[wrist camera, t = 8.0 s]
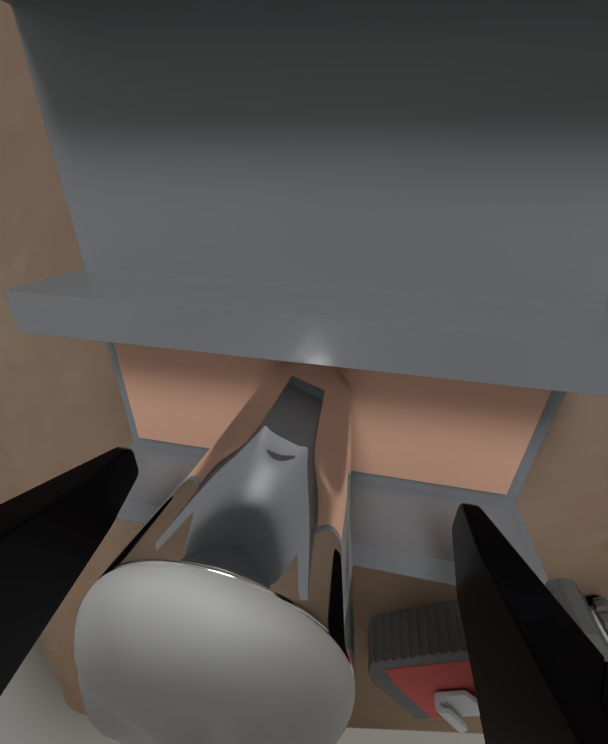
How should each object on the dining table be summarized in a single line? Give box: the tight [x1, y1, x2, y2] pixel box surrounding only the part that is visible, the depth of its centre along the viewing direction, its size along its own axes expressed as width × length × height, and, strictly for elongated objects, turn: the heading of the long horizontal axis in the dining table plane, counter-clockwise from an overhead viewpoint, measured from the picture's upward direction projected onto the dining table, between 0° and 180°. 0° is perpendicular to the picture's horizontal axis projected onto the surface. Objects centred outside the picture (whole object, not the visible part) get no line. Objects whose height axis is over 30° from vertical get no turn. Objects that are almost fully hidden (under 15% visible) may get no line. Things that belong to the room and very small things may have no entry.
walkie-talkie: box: [368, 579, 608, 733], centre depth 17 cm, size 9×4×20 cm
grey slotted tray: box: [2, 0, 608, 586], centre depth 10 cm, size 16×17×4 cm
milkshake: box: [74, 362, 355, 744], centre depth 8 cm, size 4×5×10 cm
